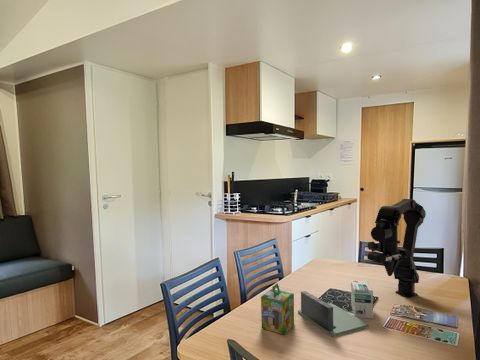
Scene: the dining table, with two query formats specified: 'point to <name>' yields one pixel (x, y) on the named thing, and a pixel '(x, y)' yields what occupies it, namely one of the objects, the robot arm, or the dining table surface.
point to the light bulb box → (362, 299)
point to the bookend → (317, 310)
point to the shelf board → (341, 322)
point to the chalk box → (277, 310)
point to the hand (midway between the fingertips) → (389, 275)
